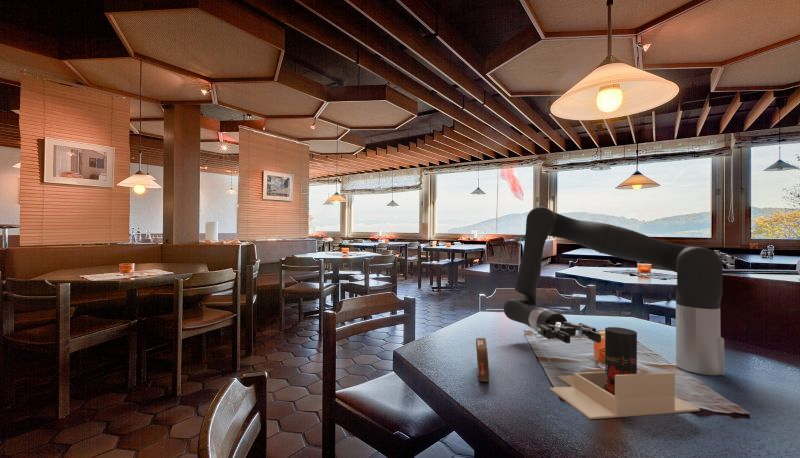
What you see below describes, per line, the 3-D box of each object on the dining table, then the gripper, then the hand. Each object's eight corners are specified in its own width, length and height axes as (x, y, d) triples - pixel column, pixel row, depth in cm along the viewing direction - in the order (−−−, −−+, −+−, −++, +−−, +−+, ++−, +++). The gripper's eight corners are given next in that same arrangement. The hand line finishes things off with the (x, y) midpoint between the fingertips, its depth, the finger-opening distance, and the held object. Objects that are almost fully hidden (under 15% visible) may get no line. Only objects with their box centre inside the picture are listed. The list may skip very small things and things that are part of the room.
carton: (535, 378, 86) (536, 346, 87) (625, 374, 90) (625, 343, 91) (589, 419, 67) (589, 377, 68) (699, 410, 71) (699, 371, 72)
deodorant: (598, 393, 79) (599, 327, 79) (623, 393, 79) (623, 327, 79) (617, 406, 73) (617, 334, 73) (643, 405, 73) (643, 334, 74)
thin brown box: (489, 388, 81) (490, 351, 81) (476, 386, 81) (476, 350, 82) (486, 364, 96) (487, 334, 96) (475, 363, 96) (475, 333, 96)
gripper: (525, 310, 102) (559, 324, 86) (569, 309, 105) (610, 323, 88) (524, 335, 102) (558, 354, 86) (568, 334, 104) (609, 353, 88)
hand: (584, 339), depth 87 cm, fingers open, 8 cm apart
